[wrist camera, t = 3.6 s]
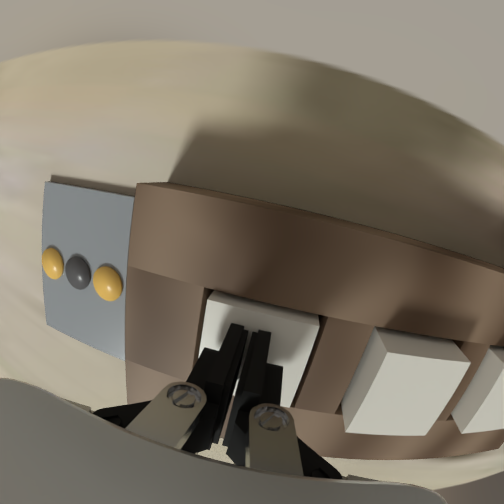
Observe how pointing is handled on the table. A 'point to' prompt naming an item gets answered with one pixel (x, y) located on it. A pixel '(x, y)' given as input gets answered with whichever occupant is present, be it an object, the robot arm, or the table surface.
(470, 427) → the button
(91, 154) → the table surface
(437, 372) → the button middle
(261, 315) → the button
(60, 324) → the card
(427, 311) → the button board
